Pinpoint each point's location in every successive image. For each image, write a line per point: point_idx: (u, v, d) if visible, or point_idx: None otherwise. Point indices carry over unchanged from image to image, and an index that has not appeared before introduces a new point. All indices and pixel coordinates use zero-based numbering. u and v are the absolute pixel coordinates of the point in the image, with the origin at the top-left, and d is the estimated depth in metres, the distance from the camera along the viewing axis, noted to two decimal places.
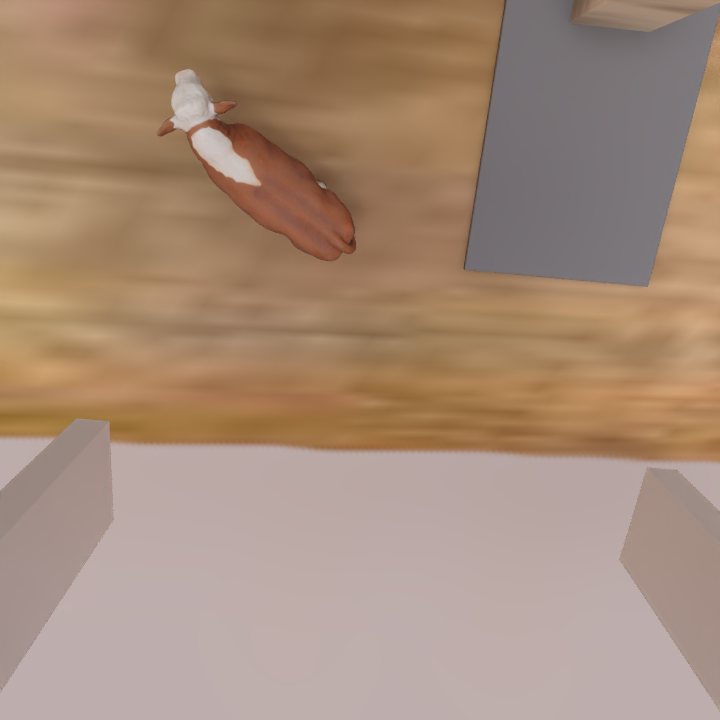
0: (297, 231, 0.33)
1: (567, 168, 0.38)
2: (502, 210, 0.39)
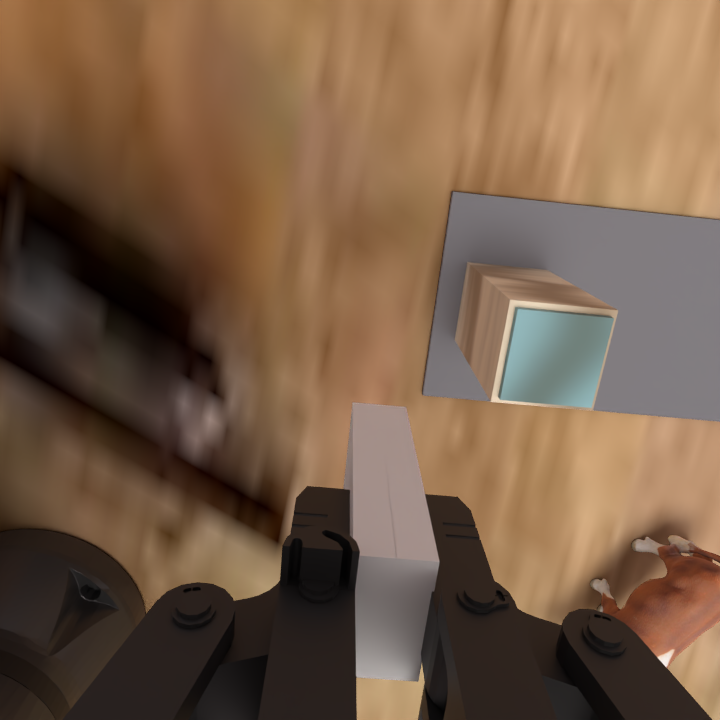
0: (716, 622, 0.37)
1: (662, 333, 0.37)
2: (691, 392, 0.39)
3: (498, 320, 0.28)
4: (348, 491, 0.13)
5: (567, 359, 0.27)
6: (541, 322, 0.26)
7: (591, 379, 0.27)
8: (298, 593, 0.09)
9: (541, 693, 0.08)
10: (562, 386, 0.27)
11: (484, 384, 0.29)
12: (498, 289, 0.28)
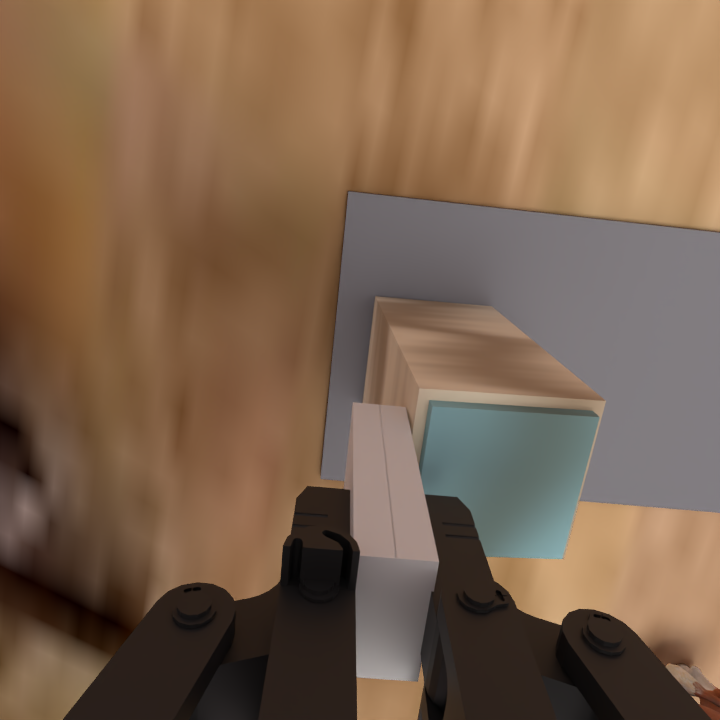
0: None
1: (659, 396, 0.26)
2: (699, 475, 0.28)
3: None
4: (348, 491, 0.13)
5: (520, 485, 0.15)
6: (475, 427, 0.15)
7: (562, 516, 0.16)
8: (298, 593, 0.09)
9: (541, 693, 0.08)
10: (513, 528, 0.16)
11: None
12: (405, 359, 0.17)
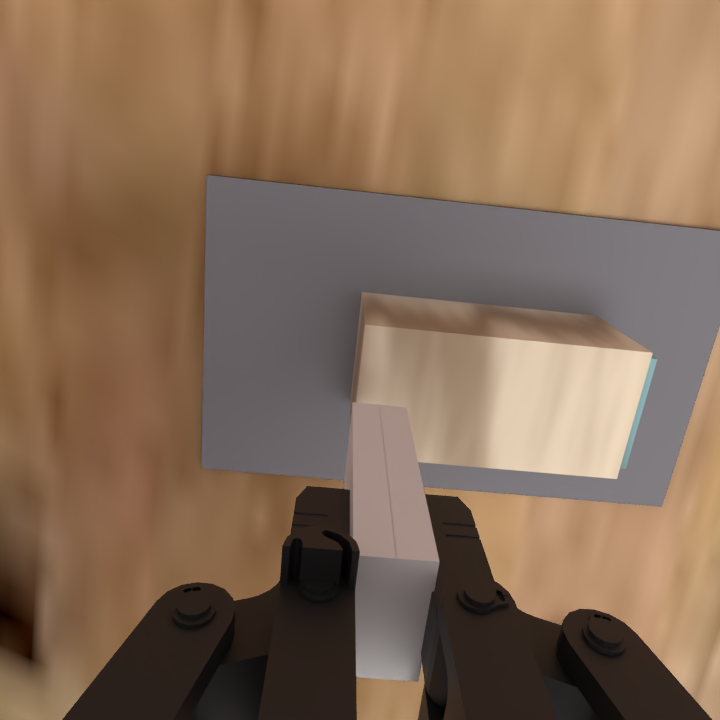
0: None
1: None
2: None
3: (607, 384, 0.20)
4: (348, 491, 0.13)
5: None
6: None
7: None
8: (298, 593, 0.09)
9: (541, 693, 0.08)
10: None
11: (578, 469, 0.22)
12: (588, 346, 0.20)
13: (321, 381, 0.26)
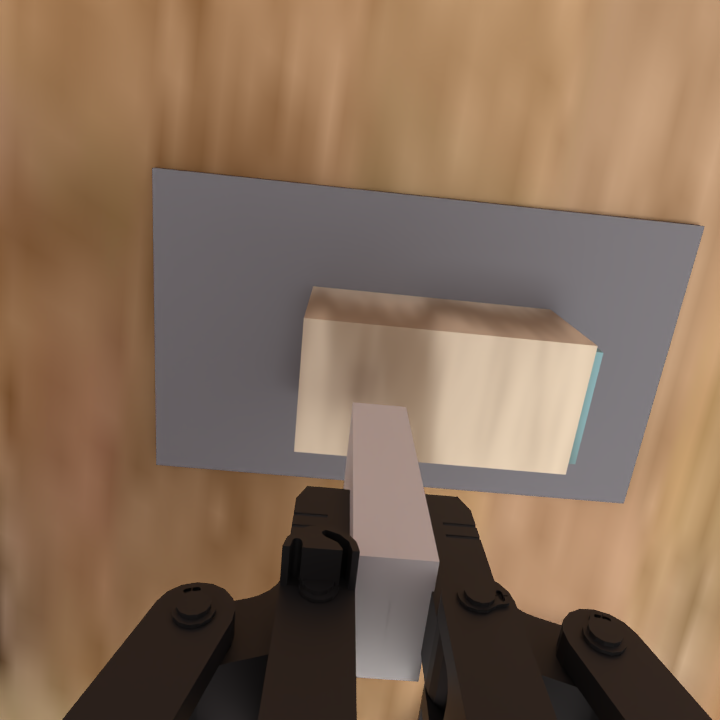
0: None
1: None
2: None
3: (552, 378, 0.20)
4: (348, 491, 0.13)
5: None
6: None
7: None
8: (298, 593, 0.09)
9: (541, 693, 0.08)
10: None
11: (526, 464, 0.21)
12: (532, 340, 0.20)
13: (275, 377, 0.25)
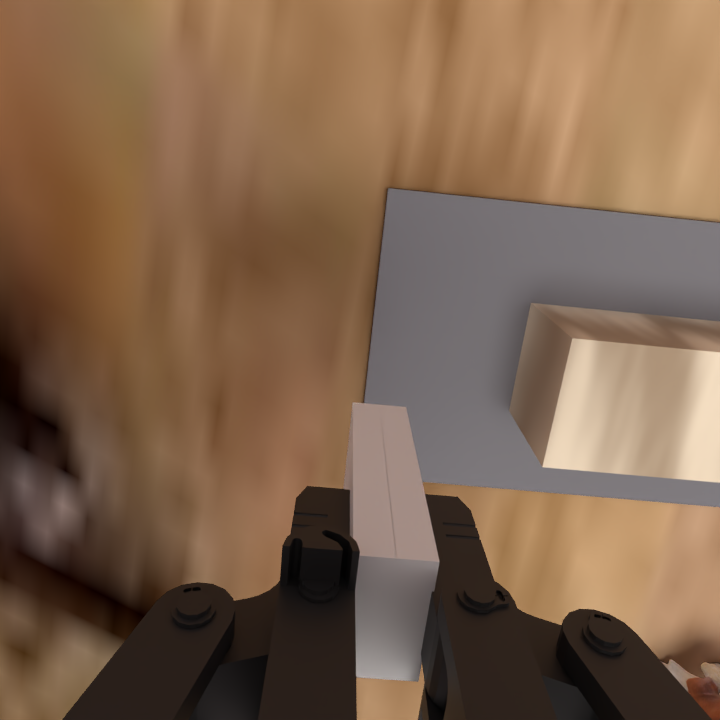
0: None
1: None
2: None
3: None
4: (348, 491, 0.13)
5: None
6: None
7: None
8: (298, 593, 0.09)
9: (541, 693, 0.08)
10: None
11: None
12: None
13: (482, 391, 0.26)
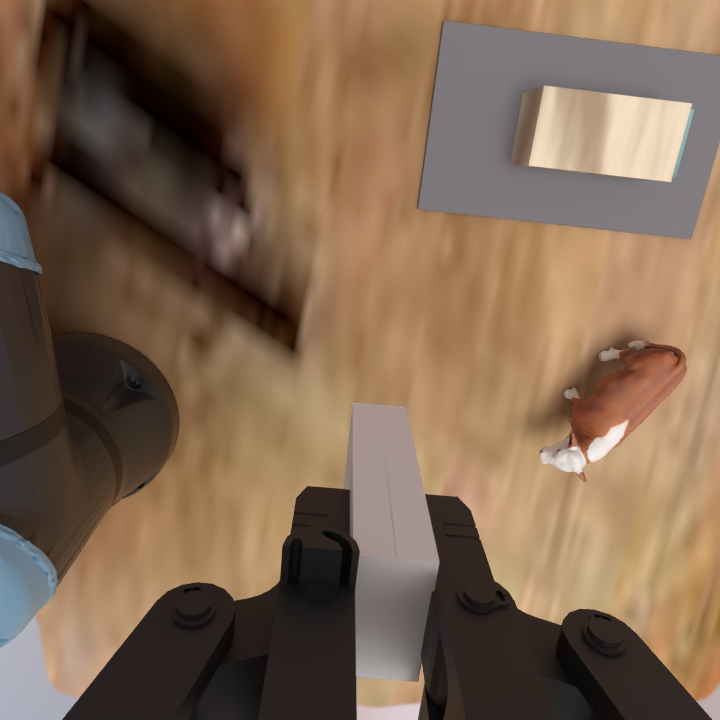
0: (664, 396, 0.44)
1: None
2: (646, 209, 0.46)
3: (667, 122, 0.39)
4: (348, 491, 0.13)
5: None
6: None
7: None
8: (298, 593, 0.09)
9: (541, 693, 0.08)
10: None
11: (650, 175, 0.40)
12: (658, 99, 0.38)
13: (494, 151, 0.44)
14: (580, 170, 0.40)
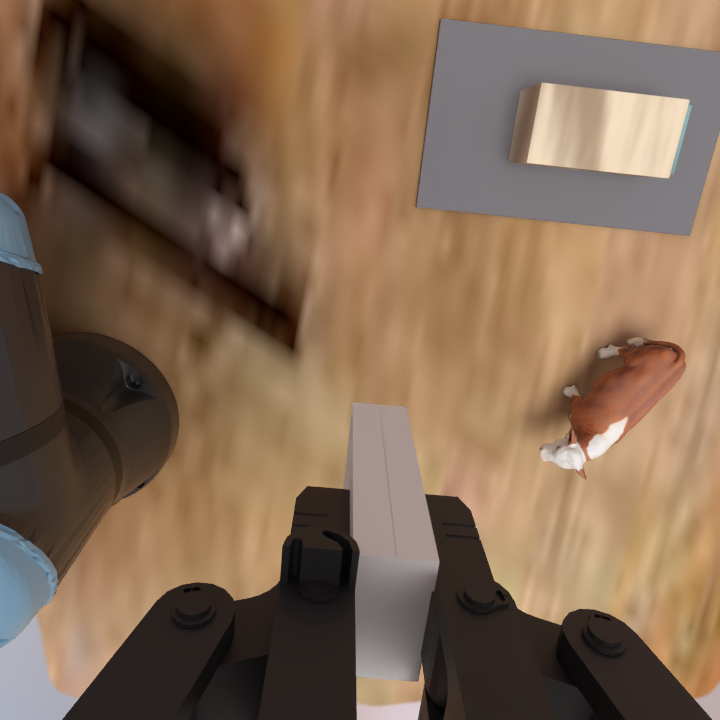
0: (663, 392, 0.44)
1: None
2: (645, 205, 0.46)
3: (665, 119, 0.39)
4: (348, 491, 0.13)
5: None
6: None
7: None
8: (298, 593, 0.09)
9: (541, 693, 0.08)
10: None
11: (648, 171, 0.40)
12: (656, 96, 0.38)
13: (492, 148, 0.44)
14: (578, 167, 0.40)
